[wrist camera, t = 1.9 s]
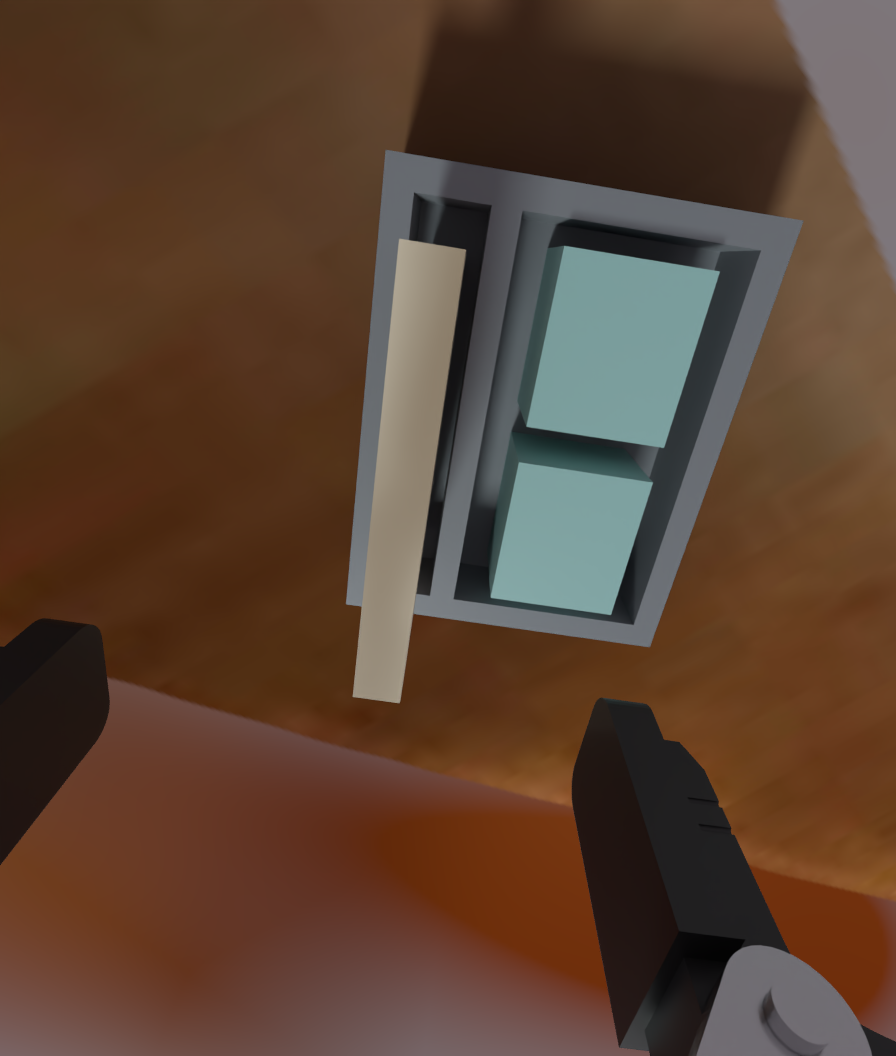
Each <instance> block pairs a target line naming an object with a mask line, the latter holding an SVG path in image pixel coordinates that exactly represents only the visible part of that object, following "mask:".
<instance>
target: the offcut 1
mask: <svg viewBox="0 0 896 1056" xmlns="http://www.w3.org/2000/svg"><path fill="white" fill-rule="evenodd" d="M719 273H720V272H719V271H713V270H707V269H701V268H695V267H689V266H683V265H677V264H671V263H665V262H659V261H653V260H647V259H641V258H635V257H629V256H623V255H617V254H611V253H605V252H599V251H593V250H587V249H581V248H575V247H569V246H560V247H553V248H547V253H546V258H545V263H544V268H543V273H542V278H541V283H540V288H539V293H538V298H537V303H536V308H535V313H534V318H533V324H532V329H531V334H530V339H529V344H528V349H527V354H526V359H525V364H524V369H523V374H522V379H521V384H520V389H519V394H518V399H517V402H518V405H519V408H520V410H521V413H522V416H523V419H524V422H525V424H526V427H531V428H538V429H544V430H551V431H557V432H564V433H570V434H577V435H583V436H590V437H596V438H603V439H609V440H615V441H622V442H628V443H635V444H641V445H648V446H654V447H661V448H664V446H665V443H666V440H667V437H668V434H669V431H670V427H671V424H672V421H673V418H674V415H675V412H676V408H677V405H678V402H679V399H680V396H681V393H682V390H683V386H684V383H685V380H686V377H687V374H688V371H689V368H690V364H691V361H692V358H693V355H694V352H695V349H696V345H697V342H698V339H699V336H700V333H701V330H702V327H703V323H704V320H705V317H706V314H707V311H708V308H709V304H710V301H711V298H712V295H713V292H714V289H715V286H716V282H717V279H718V276H719Z"/></svg>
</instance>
